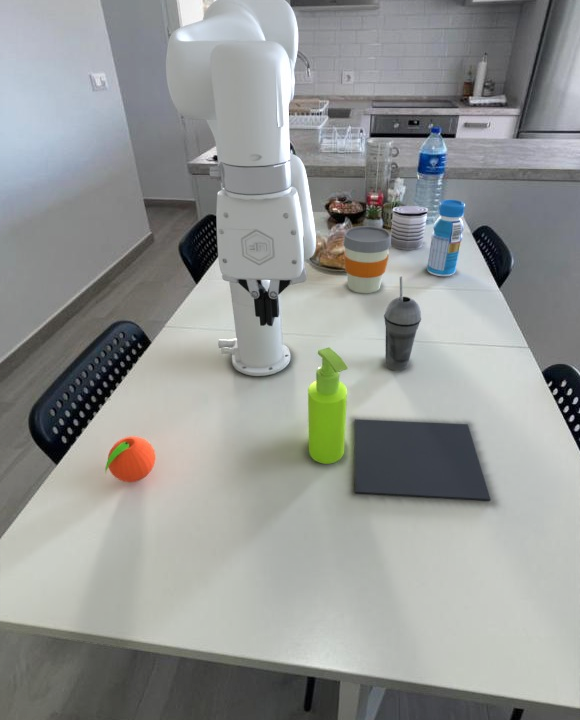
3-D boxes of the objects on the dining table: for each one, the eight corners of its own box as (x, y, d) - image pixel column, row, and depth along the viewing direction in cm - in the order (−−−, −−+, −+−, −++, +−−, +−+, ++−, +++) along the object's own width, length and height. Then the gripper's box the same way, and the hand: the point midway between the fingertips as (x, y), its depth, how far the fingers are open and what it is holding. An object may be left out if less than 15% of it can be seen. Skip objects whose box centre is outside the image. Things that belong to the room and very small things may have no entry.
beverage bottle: (425, 275, 130) (435, 206, 119) (427, 264, 137) (437, 197, 125) (455, 278, 128) (468, 208, 117) (456, 267, 135) (469, 199, 123)
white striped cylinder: (388, 249, 147) (392, 212, 140) (389, 236, 156) (392, 202, 149) (424, 250, 146) (429, 214, 139) (422, 238, 155) (427, 203, 148)
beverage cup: (413, 376, 91) (427, 287, 80) (377, 372, 92) (386, 284, 81) (414, 356, 97) (427, 270, 85) (380, 352, 98) (388, 268, 87)
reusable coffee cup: (393, 282, 127) (399, 230, 118) (374, 300, 118) (379, 246, 109) (354, 273, 132) (357, 222, 124) (333, 289, 124) (334, 236, 115)
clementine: (128, 503, 67) (116, 471, 63) (99, 484, 70) (85, 452, 66) (168, 468, 72) (159, 436, 68) (139, 451, 75) (129, 420, 71)
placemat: (355, 493, 68) (355, 491, 68) (354, 420, 81) (354, 419, 81) (490, 500, 66) (490, 499, 66) (467, 425, 79) (467, 424, 79)
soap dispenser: (322, 473, 71) (323, 373, 59) (302, 445, 76) (300, 347, 64) (353, 460, 73) (360, 361, 62) (332, 433, 78) (335, 337, 67)
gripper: (181, 185, 47) (206, 333, 58) (322, 186, 46) (321, 337, 57) (200, 170, 53) (220, 306, 64) (325, 170, 52) (324, 309, 63)
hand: (268, 320), depth 60 cm, fingers closed
